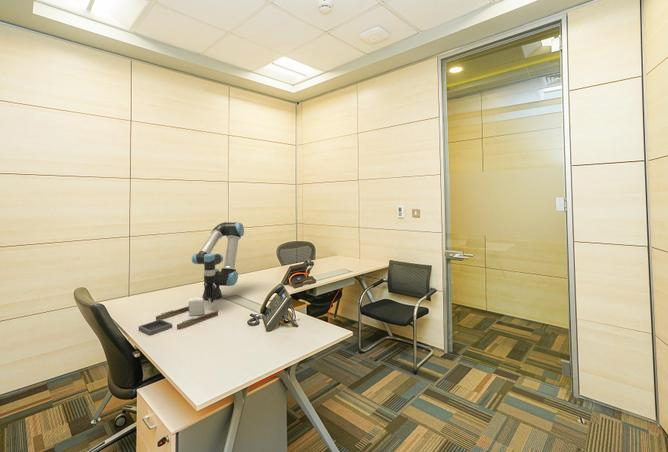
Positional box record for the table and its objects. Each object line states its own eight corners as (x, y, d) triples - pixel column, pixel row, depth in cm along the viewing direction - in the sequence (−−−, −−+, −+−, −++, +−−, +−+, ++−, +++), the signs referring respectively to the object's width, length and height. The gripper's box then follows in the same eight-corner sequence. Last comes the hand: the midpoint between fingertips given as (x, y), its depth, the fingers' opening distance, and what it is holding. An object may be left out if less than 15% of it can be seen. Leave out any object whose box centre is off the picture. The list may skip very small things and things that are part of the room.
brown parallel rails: (155, 320, 220) (155, 315, 219) (195, 307, 244) (195, 303, 244) (178, 329, 204) (178, 324, 204) (218, 315, 229) (218, 310, 228)
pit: (138, 330, 204) (138, 326, 204) (160, 322, 216) (160, 319, 215) (150, 335, 196) (149, 331, 196) (172, 327, 208) (172, 323, 208)
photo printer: (188, 316, 227) (187, 299, 226) (190, 314, 231) (189, 297, 230) (203, 315, 229) (203, 298, 228) (205, 313, 233) (204, 296, 232)
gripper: (200, 274, 238) (201, 306, 240) (211, 277, 231) (212, 309, 233) (209, 272, 244) (210, 303, 246) (219, 275, 237) (221, 306, 239)
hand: (211, 306), depth 239 cm, fingers closed
